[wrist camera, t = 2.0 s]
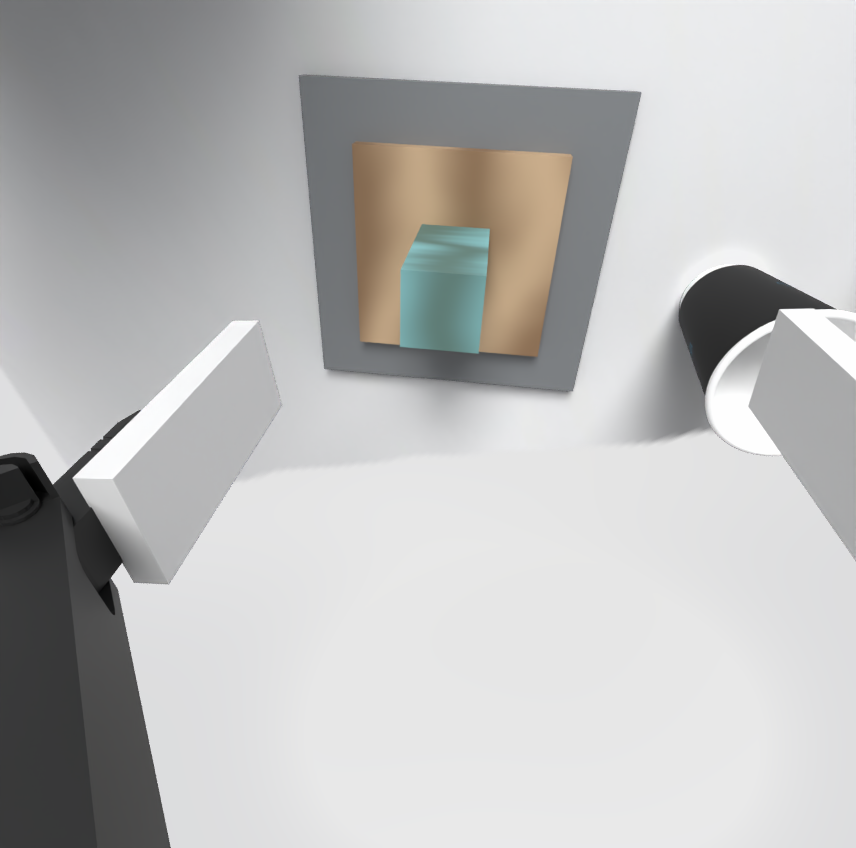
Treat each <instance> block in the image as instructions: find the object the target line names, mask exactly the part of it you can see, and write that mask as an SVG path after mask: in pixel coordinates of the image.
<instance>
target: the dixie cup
mask: <svg viewBox="0 0 856 848" xmlns="http://www.w3.org/2000/svg"><path fill="white" fill-rule="evenodd" d="M779 309H815V310H816V311H818V312H819V313H820V314H821V315H823V316H824V317H825V318H826V319H827V320H829V321H830V322H831V323H832V324H834V325H835V326H836V327H837V328H839V329H840V330H841V331H842V332H843V333H845V334H846V335H847V336H848V337H850V338H851V339H852V340H853V341H854V342H856V313H853V312H849V311H843V310H837V309H835V308H833V307H831V306H829V305H827V304H825V303H823V302H821V301H819V300H817V299H815V298H813V297H811V296H809V295H807V294H805V293H804V292H802V291H800V290H798V289H796V288H794V287H792V286H790V285H788V284H786V283H784V282H782V281H780V280H778V279H776V278H774V277H772V276H770V275H768V274H766V273H764V272H762V271H760V270H758V269H756V268H754V267H750V266H745V265H734V264H727V265H720V266H716V267H713V268H711V269H709V270H706V271H705V272H703V273H701V274H700V275H699V276H697V277H696V278H695V279H694V280H693V281H692V282H691V283H690V284H689V285H688V287H687V288H686V290H685V291H684V293H683V295H682V298H681V302H680V310H679V323H680V327H681V329H682V332H683V335H684V338H685V341H686V344H687V346H688V349H689V352H690V355H691V358H692V361H693V363H694V366H695V369H696V372H697V375H698V377H699V380H700V383H701V386H702V389H703V392H704V394H705V411H706V416H707V419H708V422H709V424H710V426H711V427H712V429H713V431H714V432H715V433H716V434H717V435H718V436H719V437H720V438H721V439H722V440H723V441H725V442H726V443H727V444H729V445H731V446H732V447H734V448H736V449H739V450H741V451H744V452H747V453H751V454H756V455H764V456H782V454H781V453H780V451H779V450H778V449H777V447H776V446H775V444H774V443H773V441H772V440H771V439H770V437H769V436H768V434H767V433H766V431H765V430H764V429H763V427H762V426H761V424H760V423H759V421H758V420H757V418H756V417H755V416H754V414H753V413H752V411H751V410H750V408H749V407H748V405H749V402H750V399H751V396H752V393H753V389H754V386H755V383H756V380H757V377H758V374H759V371H760V368H761V364H762V361H763V358H764V355H765V352H766V349H767V346H768V342H769V339H770V336H771V333H772V330H773V327H774V324H775V321H776V317H777V314H778V311H779Z"/></svg>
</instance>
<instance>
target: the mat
mask: <svg viewBox="0 0 856 848" xmlns="http://www.w3.org/2000/svg"><path fill="white" fill-rule="evenodd" d="M299 83H300V95H301V106H302V118H303V129H304V141H305V152H306V164H307V175H308V187H309V198H310V210H311V221H312V233H313V244H314V256H315V267H316V279H317V290H318V302H319V313H320V325H321V336H322V348H323V359H324V369H331V370H342V371H353V372H364V373H375V374H386V375H397V376H408V377H419V378H430V379H441V380H452V381H463V382H474V383H485V384H496V385H507V386H518V387H529V388H540V389H551V390H562V391H573V388H574V384H575V379H576V375H577V371H578V366H579V362H580V358H581V353H582V349H583V345H584V340H585V336H586V332H587V327H588V323H589V319H590V314H591V310H592V306H593V301H594V297H595V292H596V288H597V284H598V279H599V275H600V271H601V266H602V262H603V258H604V253H605V249H606V245H607V240H608V236H609V232H610V227H611V223H612V219H613V214H614V210H615V205H616V201H617V197H618V192H619V188H620V184H621V179H622V175H623V171H624V166H625V162H626V158H627V153H628V149H629V145H630V140H631V136H632V132H633V127H634V123H635V118H636V114H637V110H638V105H639V101H640V97H641V92H638V91H619V90H599V89H579V88H559V87H539V86H519V85H499V84H479V83H459V82H439V81H419V80H399V79H379V78H359V77H339V76H319V75H299ZM356 141H357V142H374V143H391V144H407V145H424V146H441V147H458V148H475V149H492V150H509V151H526V152H543V153H560V154H571V155H572V157H573V159H572V164H571V170H570V176H569V181H568V187H567V193H566V198H565V204H564V210H563V215H562V221H561V227H560V232H559V238H558V244H557V249H556V255H555V261H554V266H553V272H552V278H551V283H550V289H549V295H548V300H547V306H546V312H545V317H544V323H543V329H542V334H541V340H540V346H539V351H538V357H534V356H523V355H511V354H500V353H488V352H479V354H477V353H465V352H454V351H442V350H431V349H419V348H408V347H400V345H396V344H384V343H373V342H361V341H360V328H359V303H358V279H357V254H356V230H355V206H354V181H353V157H352V144H353V143H354V142H356Z"/></svg>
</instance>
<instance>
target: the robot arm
mask: <svg viewBox="0 0 856 848" xmlns="http://www.w3.org/2000/svg"><path fill="white" fill-rule="evenodd" d="M281 406H282V403H281V400H280V396H279V392H278V388H277V385H276V381H275V377H274V374H273V370H272V366H271V363H270V359H269V355H268V351H267V348H266V344H265V340H264V337H263V333H262V329H261V326H260V322H259V320H250V321H232V322H231V323H230V324H229V325H228V326H227V327H226V328H225V329H224V330H223V331H222V332H221V333H220V334H219V335H218V336H217V337H216V338H215V339H214V340H213V341H212V342H211V343H210V344H209V345H208V346H207V347H206V348H205V349H204V350H202V351H201V352H200V353H199V354H198V355H197V356H196V357H195V358H194V359H193V360H192V361H191V362H190V363H189V364H188V365H187V366H186V367H185V368H184V369H183V370H182V371H181V372H180V373H179V374H178V375H177V376H176V377H175V378H174V379H173V380H172V381H171V382H170V383H169V384H168V385H167V386H166V387H165V388H164V389H163V390H162V391H161V392H160V393H159V394H158V395H157V396H156V397H155V398H154V399H153V400H152V401H150V402H149V403H148V404H147V405H146V406H145V407H144V408H143V409H142V410H139V411H137V412H135V413H134V414H132V415H130V416H128V417H127V418H125V419H123V420H122V421H120V422H118V423H117V424H116V425H115V426H114V427H113V428H112V429H111V430H110V431H109V432H108V433H107V434H106V435H105V436H104V437H103V440H99V441H98V442H97V443H96V444H95V445H94V446H93V447H92V448H91V451H88V452H87V453H86V454H85V455H84V456H83V457H81V458H80V459H79V460H78V461H77V462H76V463H75V464H74V465H73V466H72V467H71V468H70V469H69V470H68V471H67V472H66V473H65V474H64V475H63V476H62V477H61V478H60V479H59V480H57V481H56V482H55V483H54V484H53V485H52V483H51V481H50V480H49V478H48V477H47V475H46V473H45V472H44V470H43V469H42V467H41V465H40V464H39V462H38V461H37V459H36V457H35V456H34V455H31V454H28V453H11V454H7V455H3V456H0V848H171V847H170V842H169V838H168V833H167V828H166V823H165V818H164V813H163V808H162V804H161V798H160V794H159V789H158V784H157V779H156V774H155V769H154V764H153V759H152V754H151V750H150V745H149V740H148V735H147V730H146V725H145V721H144V715H143V711H142V705H141V701H140V696H139V691H138V686H137V682H136V676H135V671H134V666H133V662H132V657H131V652H130V647H129V642H128V637H127V632H126V627H125V622H124V617H123V613H122V608H121V603H120V598H119V593H118V589H117V587H116V586H115V584H114V583H113V581H112V579H111V577H112V575H113V574H114V573H115V571H116V570H117V569H118V567H119V566H120V565H121V563H123V565H124V566H125V568H126V570H127V571H128V573H129V575H130V577H131V578H132V580H133V582H134V583H153V584H169V583H170V582H171V580H172V579H173V577H174V576H175V574H176V572H177V571H178V569H179V568H180V566H181V564H182V563H183V561H184V560H185V558H186V556H187V555H188V553H189V552H190V550H191V548H192V547H193V545H194V544H195V542H196V541H197V539H198V538H199V536H200V534H201V533H202V531H203V530H204V528H205V527H206V525H207V523H208V522H209V520H210V518H211V517H212V515H213V514H214V512H215V511H216V509H217V508H218V506H219V504H220V503H221V501H222V500H223V498H224V496H225V495H226V493H227V492H228V490H229V489H230V487H231V485H232V484H233V482H234V481H235V479H236V478H237V476H238V474H239V473H240V471H241V470H242V468H243V466H244V465H245V463H246V462H247V460H248V459H249V457H250V455H251V454H252V452H253V451H254V449H255V447H256V446H257V444H258V443H259V441H260V440H261V438H262V436H263V435H264V433H265V432H266V430H267V428H268V427H269V425H270V424H271V422H272V421H273V419H274V417H275V416H276V414H277V413H278V411H279V410H280V408H281ZM748 407H749V408H750V410H751V411H752V413H753V414H754V416H755V417H756V418H757V420H758V421H759V423H760V424H761V426H762V427H763V429H764V430H765V431H766V433H767V434H768V436H769V437H770V439H771V440H772V441H773V443H774V444H775V446H776V447H777V449H778V450H779V451H780V453H781V454H782V456H783V457H784V459H785V460H786V462H787V463H788V464H789V466H790V467H791V469H792V470H793V471H794V473H795V474H796V476H797V477H798V479H799V480H800V482H801V483H802V485H803V486H804V487H805V489H806V490H807V492H808V493H809V495H810V496H811V497H812V499H813V500H814V502H815V503H816V505H817V506H818V508H819V509H820V510H821V512H822V513H823V514H824V516H825V518H826V519H827V520H828V522H829V523H830V525H831V526H832V528H833V529H834V530H835V532H836V533H837V535H838V536H839V538H840V539H841V541H842V542H843V543H844V545H845V546H846V548H847V549H848V551H849V552H850V553H851V555H852V556H853V558H854V559H855V561H856V342H854V341H853V340H852V339H851V338H850V337H848V336H847V335H846V334H845V333H843V332H842V331H841V330H840V329H839V328H837V327H836V326H835V325H834V324H832V323H831V322H830V321H829V320H827V319H826V318H825V317H824V316H823V315H821V314H820V313H819V312H818V311H816V310H815V309H779V311H778V314H777V317H776V321H775V324H774V327H773V330H772V333H771V336H770V339H769V342H768V346H767V349H766V352H765V355H764V358H763V361H762V364H761V368H760V371H759V374H758V377H757V380H756V383H755V386H754V389H753V393H752V396H751V399H750V402H749V405H748Z"/></svg>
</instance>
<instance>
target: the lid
mask: <svg viewBox="0 0 856 848" xmlns="http://www.w3.org/2000/svg"><path fill="white" fill-rule="evenodd" d="M352 157H353V181H354V206H355V230H356V254H357V279H358V303H359V328H360V341H361V342H373V343H384V344H396V345H400V347H408V348H419V349H431V350H442V351H454V352H465V353H477V354H479V352H488V353H500V354H511V355H523V356H534V357H538V351H539V346H540V340H541V334H542V329H543V323H544V317H545V312H546V306H547V300H548V295H549V289H550V283H551V278H552V272H553V266H554V261H555V255H556V249H557V244H558V238H559V232H560V227H561V221H562V215H563V210H564V204H565V198H566V193H567V187H568V181H569V176H570V170H571V164H572V159H573V157H572V155H571V154H560V153H543V152H526V151H509V150H492V149H475V148H458V147H441V146H424V145H407V144H391V143H374V142H357V141H356V142H354V143H353V144H352Z"/></svg>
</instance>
